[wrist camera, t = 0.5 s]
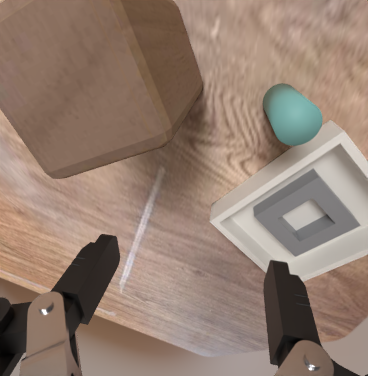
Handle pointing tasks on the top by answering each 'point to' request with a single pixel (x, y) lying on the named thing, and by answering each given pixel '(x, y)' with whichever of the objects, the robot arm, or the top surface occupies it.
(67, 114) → the wooden block
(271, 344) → the robot arm
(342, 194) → the bin
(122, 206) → the top surface
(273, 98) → the peg
